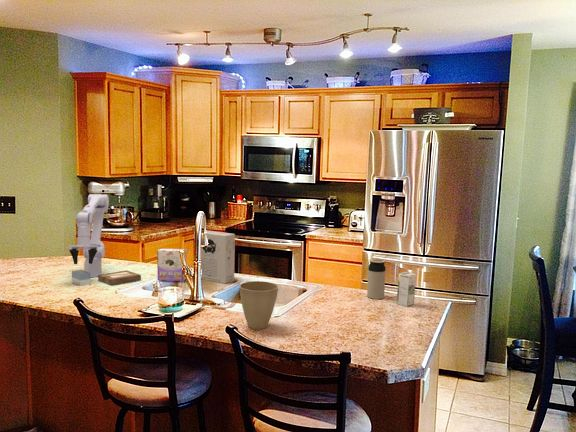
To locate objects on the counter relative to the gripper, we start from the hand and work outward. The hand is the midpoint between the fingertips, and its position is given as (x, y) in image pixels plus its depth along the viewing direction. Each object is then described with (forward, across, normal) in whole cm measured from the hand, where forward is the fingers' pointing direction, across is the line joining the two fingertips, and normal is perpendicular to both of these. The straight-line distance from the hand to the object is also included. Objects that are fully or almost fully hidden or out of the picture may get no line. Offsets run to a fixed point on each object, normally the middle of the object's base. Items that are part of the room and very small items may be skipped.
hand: (83, 263), depth 251 cm
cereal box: (+8, +55, -34) cm, 65 cm away
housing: (+10, 0, +3) cm, 10 cm away
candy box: (+9, +37, -22) cm, 44 cm away
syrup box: (+15, +90, -128) cm, 157 cm away
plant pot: (+20, +20, -103) cm, 107 cm away
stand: (+9, +17, -5) cm, 20 cm away
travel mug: (+14, +90, -112) cm, 144 cm away
